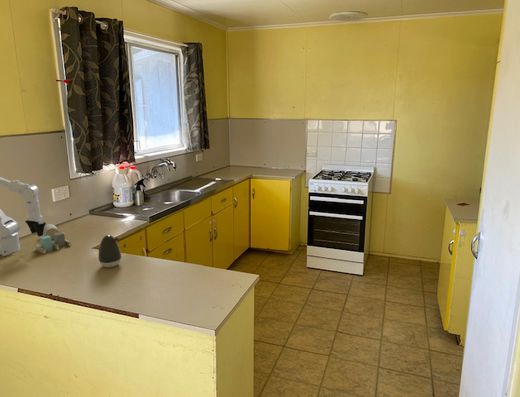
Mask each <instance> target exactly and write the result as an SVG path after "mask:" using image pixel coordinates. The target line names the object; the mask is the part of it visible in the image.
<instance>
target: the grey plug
mask: <svg viewBox="0 0 520 397" xmlns="http://www.w3.org/2000/svg"><path fill="white" fill-rule="evenodd" d="M62 232H63V231H61V232H59V233H55V234H53V238H54V239H53V243H55V244H57V245H58V246H59V248H60V247H64V246H66V244H65V239H66V237H65V235H64V233H65V232H63V233H62Z"/></svg>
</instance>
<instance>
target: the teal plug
mask: <svg viewBox="0 0 520 397" xmlns="http://www.w3.org/2000/svg"><path fill="white" fill-rule="evenodd" d="M39 242H40V246H41V247H43V248H45V250H46V251H50V250H53V246H52V242H53V239H51V237H50V236H48V235H47V236H45V235H43V236H39Z"/></svg>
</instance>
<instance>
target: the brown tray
mask: <svg viewBox="0 0 520 397" xmlns="http://www.w3.org/2000/svg"><path fill="white" fill-rule="evenodd" d="M65 244H66V246H64V247H60V248H59V246H58V245H57V244H55V243H54V241H52V246H53V250H50V251H46V250H45V248H43V247H41V245H39V244H36V245H35V250H36V251H37V252H39V253H41V254H43V255H45V254H49V253H52V252H55V251H56V252H57V251H59V250H62V249H66V248H69V247H72V240H68V239H66V238H65Z"/></svg>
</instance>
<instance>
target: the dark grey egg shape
mask: <svg viewBox="0 0 520 397" xmlns="http://www.w3.org/2000/svg"><path fill="white" fill-rule="evenodd" d="M118 240H119V237H114V236H112V235H110V234H106V235H104V236H103V237H102V239H101V241H100V243H99V248H98V262H99V263H100V265H101V266H102V267H104V268H115V267H117V266H118V265H119V264H120V263H121V259H122V253H121V249H120V246H119V243H118V242H117V241H118Z"/></svg>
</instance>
